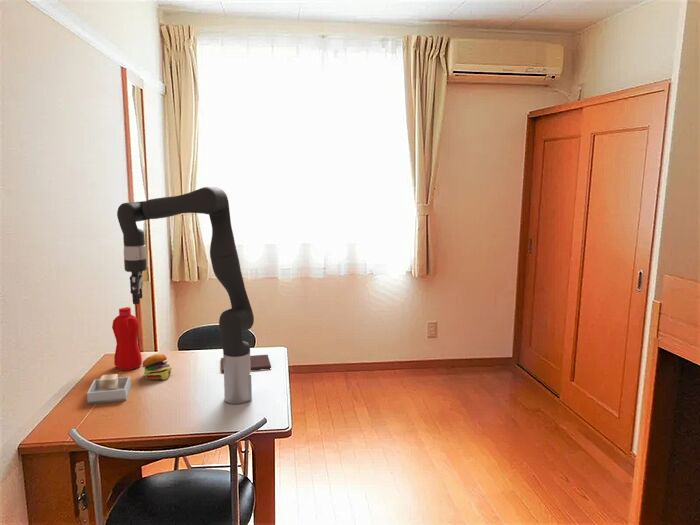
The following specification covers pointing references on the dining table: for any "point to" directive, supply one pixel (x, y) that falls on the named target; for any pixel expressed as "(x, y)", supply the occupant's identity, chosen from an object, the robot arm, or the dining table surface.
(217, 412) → the dining table surface
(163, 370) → the cheeseburger
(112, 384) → the birch block
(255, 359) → the notebook
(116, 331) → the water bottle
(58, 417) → the dining table surface
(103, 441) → the dining table surface
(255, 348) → the dining table surface
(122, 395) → the grey bin
